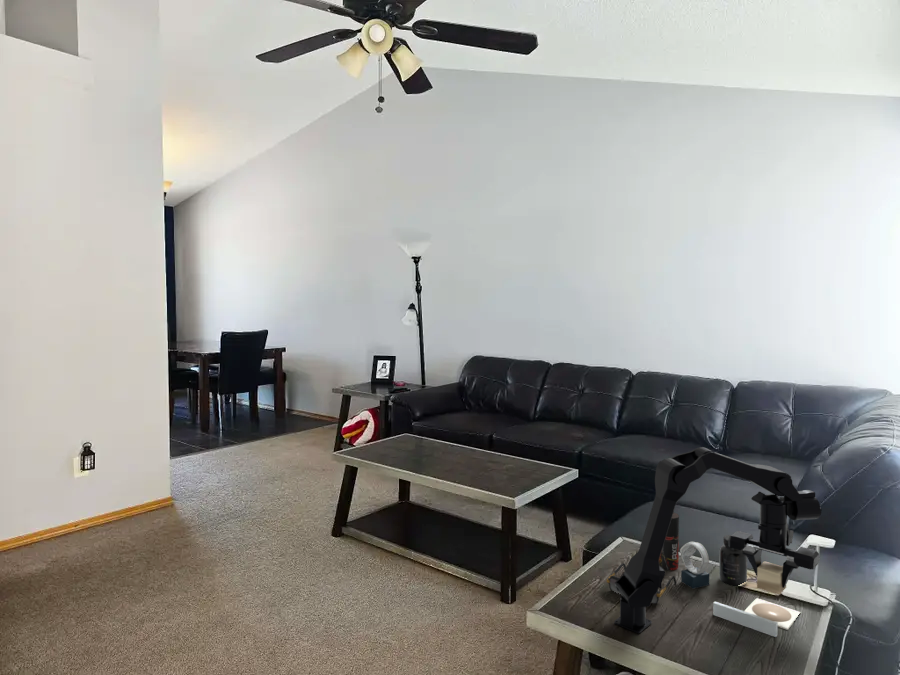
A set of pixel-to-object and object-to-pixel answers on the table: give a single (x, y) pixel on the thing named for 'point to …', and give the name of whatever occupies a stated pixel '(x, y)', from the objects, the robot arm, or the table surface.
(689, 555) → the watch
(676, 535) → the deodorant
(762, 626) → the low wall
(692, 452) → the robot arm
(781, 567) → the maple block
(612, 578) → the sunglasses
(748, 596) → the table surface
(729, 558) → the supplement bottle
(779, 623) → the pad
